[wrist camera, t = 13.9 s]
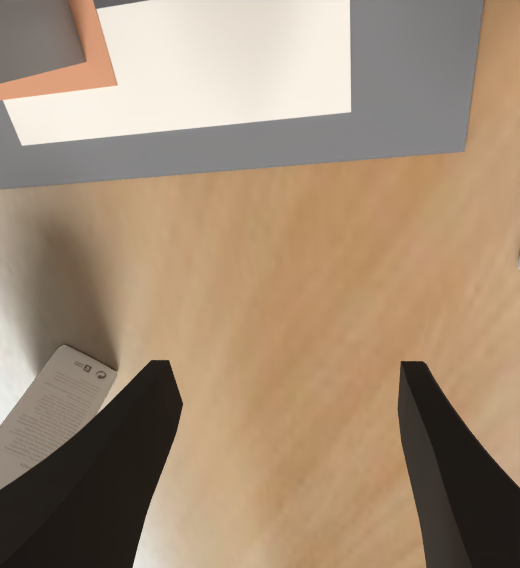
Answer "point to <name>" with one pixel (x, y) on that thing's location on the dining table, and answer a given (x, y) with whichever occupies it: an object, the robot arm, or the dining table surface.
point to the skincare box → (52, 410)
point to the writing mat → (242, 88)
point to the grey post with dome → (37, 38)
